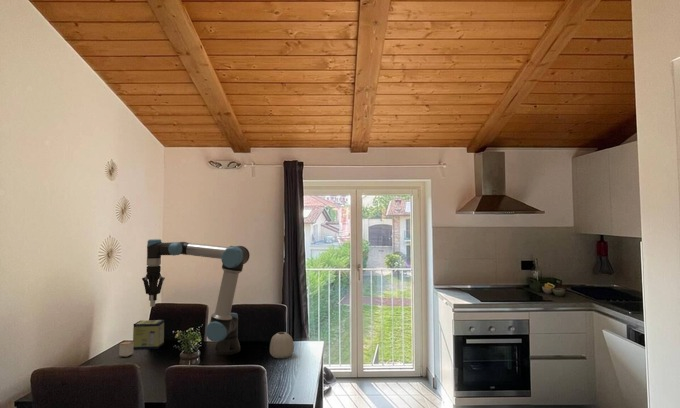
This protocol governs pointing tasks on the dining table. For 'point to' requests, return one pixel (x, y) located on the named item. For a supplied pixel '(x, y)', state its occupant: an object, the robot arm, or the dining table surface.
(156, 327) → the protein box
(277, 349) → the vase
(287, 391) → the dining table surface
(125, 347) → the beige faceted cup
